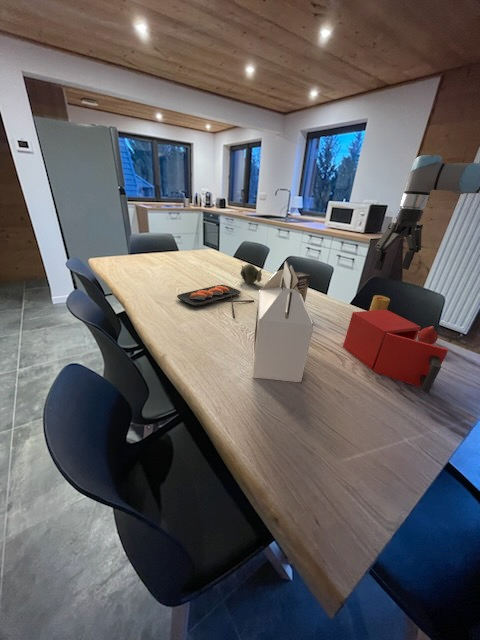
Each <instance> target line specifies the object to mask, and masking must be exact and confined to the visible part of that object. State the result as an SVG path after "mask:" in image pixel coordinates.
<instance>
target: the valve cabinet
mask: <svg viewBox="0 0 480 640" xmlns="http://www.w3.org/2000/svg"><path fill="white" fill-rule="evenodd" d="M421 328H422V326H420V325H418V324H417V323H414V322H412V321H411V320H408V319H406V318H404V317H402V316H400V315H398V314H396V313H394V312H393V311H390V310H389V309H387V310H386V309H383V310H372V311H369V310H362V311H352V312H351V317H350V320H349V324H348V327H347V331H346V335H345V338H344V340H343V344H342V348H343V349H345V350H346V351H347V352H349V353H350V354H351V355H352V356H354V357H355V358H356V359H358V360H359V361H360V362H361V363H362V364H364V365H365V366H366V367H367V368H368V369H370V370H374V368H375V365H376V362H377V359H378V356H379V354H380V351H381V348H382V345H383V343H384V340H385V337H386V334H387V333H390V334H394V335H398V336H402V337H405V338H409V339H413V340H416V341H417V338H418V337H417V335H418V333H419V332H420V331H421Z"/></svg>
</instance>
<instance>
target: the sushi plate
mask: <svg viewBox="0 0 480 640" xmlns="http://www.w3.org/2000/svg"><path fill="white" fill-rule="evenodd" d="M241 293H242V291H241V290H239V289H237V288H234V287H231V286H229V285H226V284H217V285H213V286H209V287H204V288H200V289H195V290H191V291H186V292H183V293H180V294H177V295H176V297H177V298H178V300H180V301H182V302H184V303H186V304H188V305H190V306H192V307H193V306H194V307H196V306H197V307H198V306H202V305H205V304H210V303H231V311H232V317H233V319H235V318H236V314H235V309H234V303H254V302H255V300H254V299H248V300H247V299H245V300H243V299H242V300H233V297H234V296H237V295H240V294H241ZM228 298H230V300H225V299H228Z"/></svg>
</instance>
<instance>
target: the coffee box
mask: <svg viewBox="0 0 480 640" xmlns="http://www.w3.org/2000/svg"><path fill="white" fill-rule="evenodd" d="M295 274H296V276H297V278H298V280H299V283H298V284H297V288H298V290H299V292H300V294H301V295H302V298H303V300H304V302H305V303H306V299H307V292H308V289H309V285H310V279H311V274H308V273H304V272H301V271H296V272H295Z"/></svg>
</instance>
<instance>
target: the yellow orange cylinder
mask: <svg viewBox="0 0 480 640" xmlns="http://www.w3.org/2000/svg"><path fill="white" fill-rule="evenodd" d="M390 302H391V299H390V298H389V297H387V296H385V295H379V294H377V295H376V294H375V295H373V297H372V301H371V304H370V307H369V310H368V311H372V310H383V309H386V310H388V308H389V305H390Z"/></svg>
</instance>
